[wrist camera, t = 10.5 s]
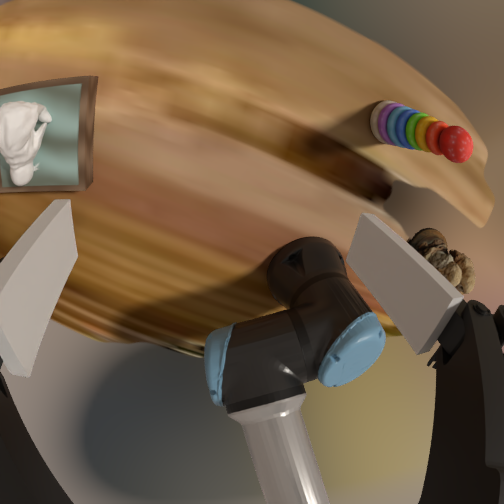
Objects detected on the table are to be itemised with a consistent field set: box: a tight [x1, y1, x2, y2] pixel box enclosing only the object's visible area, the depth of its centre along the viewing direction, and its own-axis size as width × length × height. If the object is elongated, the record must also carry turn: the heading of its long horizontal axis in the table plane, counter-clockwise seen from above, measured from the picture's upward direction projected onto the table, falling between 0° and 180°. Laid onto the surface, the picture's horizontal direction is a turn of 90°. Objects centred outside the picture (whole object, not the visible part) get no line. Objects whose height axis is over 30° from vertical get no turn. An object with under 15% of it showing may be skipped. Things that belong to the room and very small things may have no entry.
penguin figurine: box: [0, 101, 52, 186], centre depth 25 cm, size 6×8×12 cm
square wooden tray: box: [0, 76, 98, 193], centre depth 30 cm, size 16×16×4 cm
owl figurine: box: [409, 228, 475, 295], centre depth 54 cm, size 18×12×17 cm, turn 62°
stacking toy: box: [370, 100, 473, 163], centre depth 35 cm, size 8×8×19 cm
